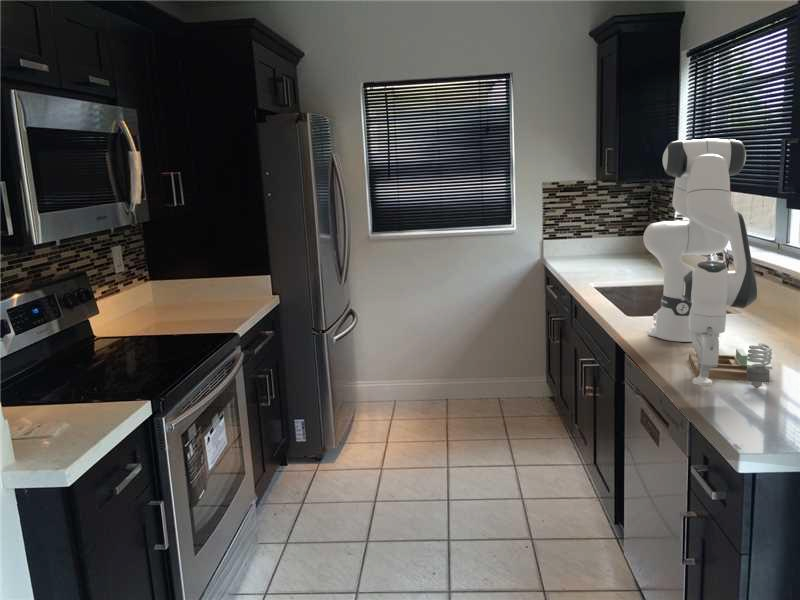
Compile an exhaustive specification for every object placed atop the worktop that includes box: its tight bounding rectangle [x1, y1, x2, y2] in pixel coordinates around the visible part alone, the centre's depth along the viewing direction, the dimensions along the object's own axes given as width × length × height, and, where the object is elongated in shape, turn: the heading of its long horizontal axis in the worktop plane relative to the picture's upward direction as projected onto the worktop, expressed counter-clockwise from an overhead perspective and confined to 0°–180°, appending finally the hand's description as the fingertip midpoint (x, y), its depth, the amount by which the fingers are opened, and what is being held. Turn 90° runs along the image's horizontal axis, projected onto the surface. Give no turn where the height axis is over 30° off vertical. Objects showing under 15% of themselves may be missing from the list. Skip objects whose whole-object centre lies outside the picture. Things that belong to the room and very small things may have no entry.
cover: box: [733, 347, 773, 370], centre depth 187 cm, size 8×8×3 cm
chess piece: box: [691, 362, 713, 387], centre depth 179 cm, size 5×5×10 cm
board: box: [688, 352, 771, 384], centre depth 189 cm, size 16×18×3 cm
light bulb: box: [746, 342, 773, 389], centre depth 174 cm, size 6×6×12 cm
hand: (702, 373), depth 180 cm, fingers open, 4 cm apart
